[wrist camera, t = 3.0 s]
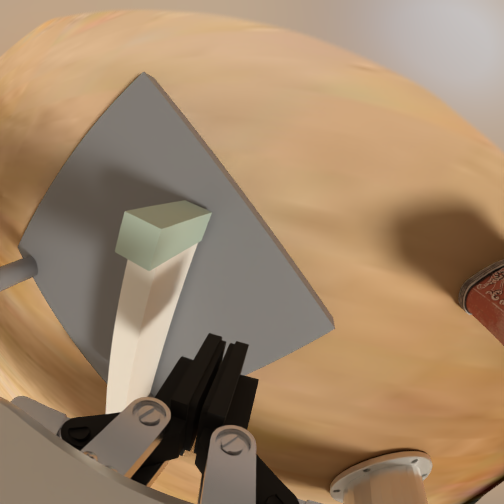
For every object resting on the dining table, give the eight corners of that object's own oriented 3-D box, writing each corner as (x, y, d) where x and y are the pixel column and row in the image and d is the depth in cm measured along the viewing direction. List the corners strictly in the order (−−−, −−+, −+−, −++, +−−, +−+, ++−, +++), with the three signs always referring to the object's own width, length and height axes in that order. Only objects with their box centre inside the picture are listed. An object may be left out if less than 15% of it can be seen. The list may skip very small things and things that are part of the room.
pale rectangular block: (151, 393, 20) (117, 440, 14) (133, 383, 20) (97, 427, 15) (212, 212, 16) (161, 229, 10) (185, 200, 16) (124, 211, 10)
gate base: (333, 317, 18) (347, 414, 9) (144, 407, 24) (101, 466, 15) (153, 77, 16) (69, 32, 7) (27, 243, 22) (-38, 266, 13)
